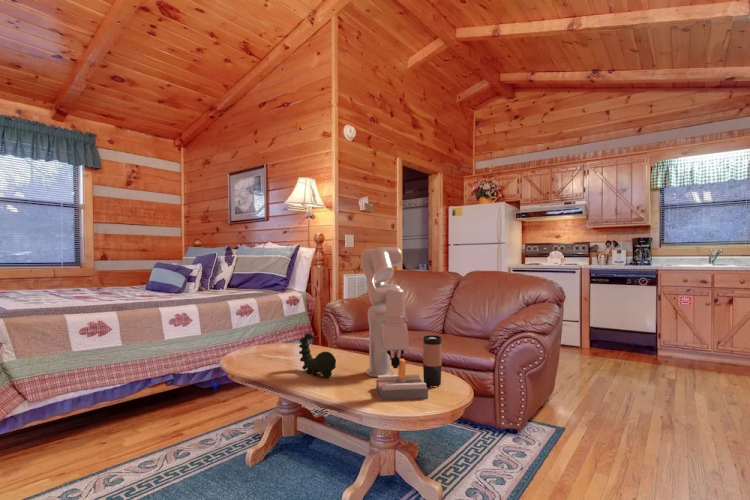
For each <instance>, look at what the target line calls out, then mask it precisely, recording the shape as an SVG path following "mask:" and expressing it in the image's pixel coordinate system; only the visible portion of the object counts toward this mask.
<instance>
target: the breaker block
mask: <svg viewBox="0 0 750 500" xmlns="http://www.w3.org/2000/svg"><path fill="white" fill-rule="evenodd" d="M397 378H398V374H393V375H379V376H378V377H377V379H376V380H375V381H376V390H377V393H378V395H379V398H380V401H401V400H403V401H404V400H423V399H424V400H425V399H429V388H428V387H427V386H426V383H424V381H423V380H422V379H421V377H420V374H419V373H417V374H416V373H415V374H405V383H399V382H398V380H397Z"/></svg>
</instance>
